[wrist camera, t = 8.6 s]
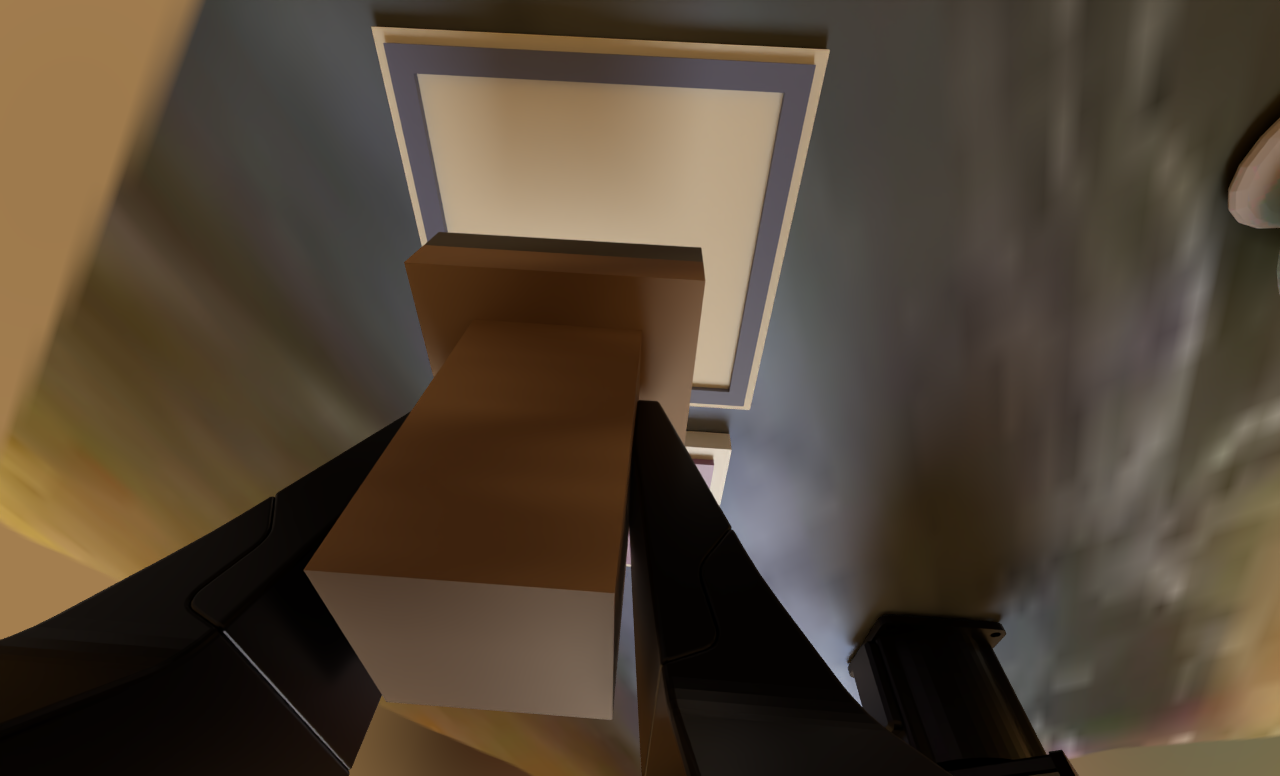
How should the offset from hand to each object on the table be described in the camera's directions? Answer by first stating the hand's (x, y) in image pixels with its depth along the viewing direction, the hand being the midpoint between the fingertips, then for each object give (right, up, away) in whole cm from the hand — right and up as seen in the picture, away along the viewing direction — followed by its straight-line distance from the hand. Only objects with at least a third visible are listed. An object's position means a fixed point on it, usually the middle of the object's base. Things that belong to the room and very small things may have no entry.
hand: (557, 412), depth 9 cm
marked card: (0, +5, +6) cm, 8 cm away
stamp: (0, +1, +2) cm, 2 cm away
